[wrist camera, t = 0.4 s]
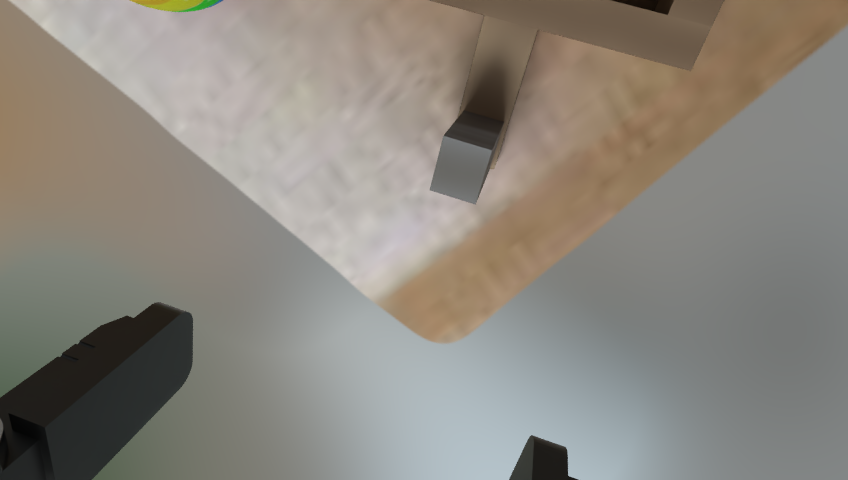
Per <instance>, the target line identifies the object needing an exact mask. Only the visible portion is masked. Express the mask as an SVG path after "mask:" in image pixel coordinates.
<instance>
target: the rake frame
mask: <svg viewBox="0 0 848 480" xmlns="http://www.w3.org/2000/svg"><path fill="white" fill-rule="evenodd" d="M430 1H434V2H437V3H441V4H445V5H449V6H452V7H456V8H460V9H463V10H467V11H471V12H474V13H478V14H482V15H485V16H484V20H483V23H482V27H481V31H480V35H479V39H478V42H477V46H476V50H475V54H474V58H473V61H472V65H471V69H470V73H469V77H468V80H467V84H466V88H465V92H464V96H463V100H462V103H461V107H460V111H459V115H458V118H457V120H456V121H455V122H454V123H453V125H452V126H451V127H450V128H449V130H448V131H447V132H446V133H445V135H444V136H443V140H442V144H441V148H440V152H439V156H438V160H437V164H436V168H435V171H434V175H433V179H432V183H431V187H430V190H431V191H434V192H437V193H441V194H444V195H447V196H450V197H453V198H457V199H460V200H463V201H466V202H469V203H473V204H476V202H477V199H478V197H479V194H480V192H481V189H482V187H483V184H484V182H485V179H486V177H487V174H488V172H489V169H494V168H495V165H496V162H497V159H498V156H499V152H500V149H501V146H502V143H503V140H504V136H505V133H506V130H507V127H508V124H509V121H510V117H511V114H512V111H513V108H514V105H515V101H516V98H517V95H518V92H519V89H520V86H521V82H522V79H523V76H524V73H525V70H526V67H527V63H528V60H529V57H530V54H531V51H532V47H533V44H534V41H535V38H536V35H537V32H538V30H541V31H544V32H548V33H552V34H555V35H559V36H563V37H567V38H570V39H574V40H578V41H581V42H585V43H589V44H592V45H596V46H600V47H603V48H607V49H611V50H615V51H618V52H622V53H626V54H629V55H633V56H637V57H640V58H644V59H648V60H651V61H655V62H659V63H662V64H666V65H670V66H674V67H677V68H681V69H685V70H688V71H691V70H692V67H693V65H694V63H695V61H696V59H697V57H698V55H699V53H700V51H701V48H702V46H703V44H704V42H705V40H706V38H707V36H708V34H709V31H710V29H711V27H712V25H713V23H714V21H715V19H716V17H717V14H718V12H719V10H720V8H721V6H722V4H723V2H724V0H658V3H657V5H656V8H655V10H654V11H650V10H646V9H642V8H638V7H635V6H631V5H627V4H623V3H619V2H615V1H612V0H430Z"/></svg>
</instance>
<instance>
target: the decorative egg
mask: <svg viewBox="0 0 848 480" xmlns="http://www.w3.org/2000/svg"><path fill="white" fill-rule="evenodd" d="M130 1H132V2H135V3H138V4H140V5H143V6H146V7H150V8H154V9H158V10H164V11H172V12H188V11H197V10H201V9H205V8H208V7H211V6H213V5H216V4H218V3H219V2H221V1H223V0H130Z"/></svg>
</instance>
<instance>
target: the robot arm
mask: <svg viewBox="0 0 848 480" xmlns="http://www.w3.org/2000/svg"><path fill="white" fill-rule="evenodd" d="M192 349H193V318H192V315H191V314H190V313H189V312H186V311H183V310H180V309H178V308H175V307H172V306H169V305H166V304H163V303H161V302H158V303H154V304H152V305H151V306H149V307H148V308H147V309H145V310H144V311H143V312H141V313H140V314H139V315H137V316H136V317H135V318H132V317H129V316H125V317H122V318H120V319H117V320H115V321H112V322H109V323H107V324H104V325H101V326H100V327H98V328H97V329H96V330H94V331H93V332H91V333H90V334H89V335H87V336H86V337H84V338H83V339H82V340H80V342H79V344H75V345H73V346H72V347H70V348H69V349H68V350H66V351H65V352H63V353H62V356H61V357H56V358H55V359H54V360H52V361H51V362H50V363H48V364H47V365H45V366H44V367H43V368H41V369H40V370H38V371H37V372H36V373H34V374H33V375H31V376H30V377H29V378H27V379H26V380H24V381H23V382H22V383H20V384H19V385H17V386H16V387H15V388H13V389H12V390H10V391H9V392H8V393H6V394H5V395H3V396H2V397H1V398H0V480H92V479H93V478H94V477H95V476H96V475H97V474H98V472H99V471H101V469H102V468H103V467H104V466H105V465H106V464H107V463H108V462H109V461H110V460H111V459H112V458H113V457H114V456H115V455H116V454H117V453H118V452H119V451H120V450H121V449H122V448H123V447H124V446H125V445H126V444H127V443H128V442H129V441H130V440H131V439H132V437H133V436H134V435H135V434H136V433H137V432H138V431H139V430H140V429H141V428H142V427H143V426H144V425H145V424H146V423H147V422H148V421H149V420H150V419H151V418H152V417H153V416H154V415H155V414H156V413H157V412H158V411H159V410H160V408H162V406H163V405H164V404H165V403H166V402H167V401H168V400H169V399H170V398H171V397H172V396H173V395H174V394H175V393H176V392H177V391H178V390H179V389H180V388H181V387H182V385H183V384H184V382H185V381H186V379H187V377H188V375H189V373H190V370H191V367H192V358H193V357H192V355H193V353H192V352H193V350H192ZM567 456H568V455H567V449H566V447H564V446H561V445H558V444H555V443H552V442H549V441H546V440H544V439H541V438H538V437H535V436H532V435H531V436H530V437H529V439H528V441H527V443H526V445H525V447H524V449H523V451H522V453H521V456H520V458H519V460H518V462H517V464H516V466H515V468H514V470H513V472H512V475H511V477H510V479H509V480H578V479H575V478H572V477H569V476H568V457H567Z"/></svg>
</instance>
